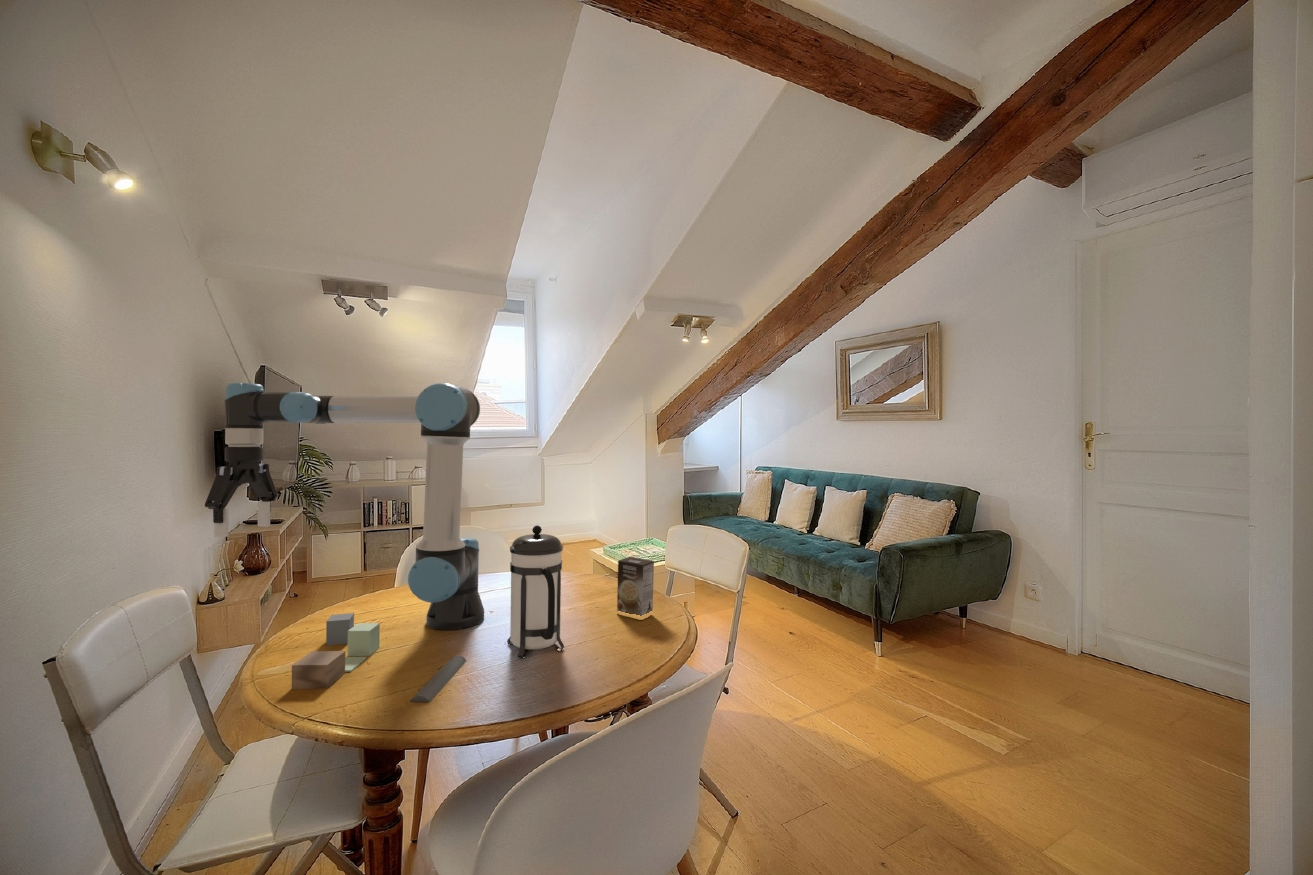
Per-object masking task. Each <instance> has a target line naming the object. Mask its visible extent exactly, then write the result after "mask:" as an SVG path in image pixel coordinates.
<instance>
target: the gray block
mask: <svg viewBox="0 0 1313 875" xmlns="http://www.w3.org/2000/svg"><path fill="white" fill-rule="evenodd" d="M325 625H326V626H325V627H326V634H325V637H326V639H325V640H326V641H325V645H326V646H337V644H339V645H348V630H350V629H351V628H353V627H354V626H355V612H351V613H337V614H335V613H334V614H331V615H330V616H329V618H328V619H327V620H326V624H325Z"/></svg>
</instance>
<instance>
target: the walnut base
mask: <svg viewBox="0 0 1313 875" xmlns="http://www.w3.org/2000/svg"><path fill="white" fill-rule="evenodd" d="M345 657H346V650H344V651H343V650H331V651H330V650H328V651H325V650H324V651H323V650H321V651H318V650H317V651H316V650H314V651H313V650H312V651H310V652H309V653H308V654H306V655H305V656H303V657H301V658H300V659H299V660H297V661H296V662H294V663H293V664H291V690H310V689H311V690H312V689H313V690H319V689H321V690H323V689H324V690H325V689H329V688H330V687H331V686H332V685H333V684H334V683H335V682H337V681H338V680H339V679H340V678H341V677H343V675H346V672H345Z"/></svg>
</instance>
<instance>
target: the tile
mask: <svg viewBox="0 0 1313 875" xmlns="http://www.w3.org/2000/svg"><path fill="white" fill-rule="evenodd" d="M365 660H367V656H345V673H352V672H353V671H354V670H355V669H356V668H357V667H359V666H360V665H361V664H362V663H363V662H364V661H365Z"/></svg>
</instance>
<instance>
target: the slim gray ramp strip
mask: <svg viewBox="0 0 1313 875" xmlns="http://www.w3.org/2000/svg"><path fill="white" fill-rule="evenodd" d="M466 662H467V659H466V657H464V656H463V655H461V654H460V655H459V654H457V655H453V656H452V657H451V658H450V659H449V661H447V662H446V663H445V664H444V665H443V667H441V669H439V670H438V672H436V674H434V676H432V677H431V679H430V680H429V681H428V682H426V684H425V685H424V686H423V687H422V688H421V689H420V690H419V691H418V692H417V693H416V694H415V695H414V696H412V698H411V699H410V702H421V703H422V702H424V703H430V702H431V701H432V700H433V699H434V698H435V697H436V696H437V695H438V694H439V693H440V692H441V691H442V689H443V688H444V687H445V686H446V685H447V684H448V682H449V681H450V680H451V679H452V678H453V677H454V676H455V674H457V673H458V672H459V670H460V669H461V668H462V667H463V666H464V665H465V664H466Z"/></svg>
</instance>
